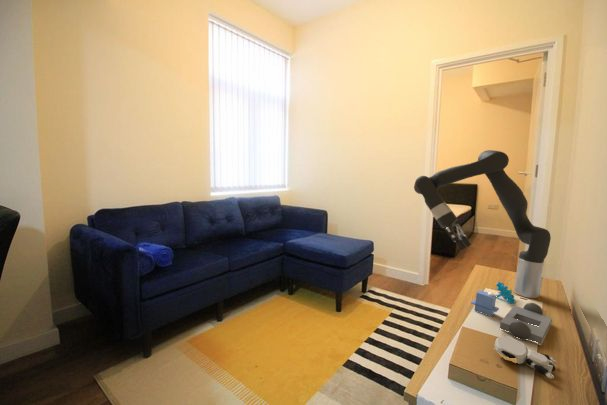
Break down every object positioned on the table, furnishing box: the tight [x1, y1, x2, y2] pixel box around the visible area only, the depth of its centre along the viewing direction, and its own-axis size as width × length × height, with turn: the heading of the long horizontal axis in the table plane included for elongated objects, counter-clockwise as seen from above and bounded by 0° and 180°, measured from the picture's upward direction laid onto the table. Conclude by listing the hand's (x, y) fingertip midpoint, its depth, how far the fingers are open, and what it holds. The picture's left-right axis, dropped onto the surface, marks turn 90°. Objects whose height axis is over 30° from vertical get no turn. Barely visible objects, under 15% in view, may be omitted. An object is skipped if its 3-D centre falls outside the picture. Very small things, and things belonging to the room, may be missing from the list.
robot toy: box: [493, 332, 557, 379], centre depth 87 cm, size 12×4×15 cm
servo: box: [470, 289, 500, 317], centre depth 117 cm, size 9×4×9 cm, turn 41°
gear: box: [495, 281, 516, 304], centre depth 129 cm, size 11×6×10 cm
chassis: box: [499, 302, 553, 346], centre depth 106 cm, size 12×23×6 cm, turn 131°
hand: (466, 247), depth 120 cm, fingers open, 8 cm apart
